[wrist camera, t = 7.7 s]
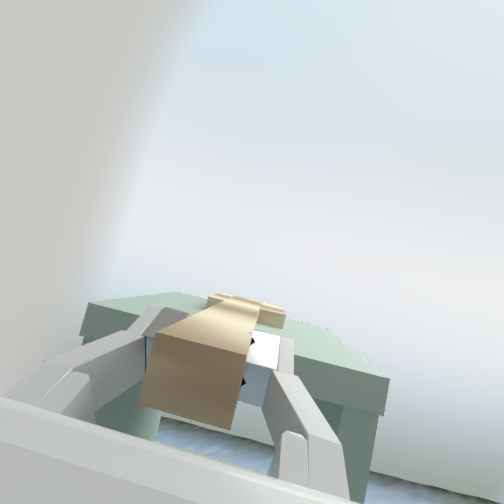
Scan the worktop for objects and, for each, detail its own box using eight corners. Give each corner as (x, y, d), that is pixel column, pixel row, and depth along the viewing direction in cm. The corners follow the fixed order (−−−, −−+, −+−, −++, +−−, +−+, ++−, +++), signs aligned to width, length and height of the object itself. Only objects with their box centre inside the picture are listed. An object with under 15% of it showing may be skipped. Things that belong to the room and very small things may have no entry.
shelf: (277, 578, 26) (326, 328, 29) (290, 967, 11) (389, 378, 14) (116, 525, 28) (176, 291, 30) (-58, 807, 13) (88, 302, 15)
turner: (219, 302, 29) (223, 287, 30) (279, 317, 29) (282, 301, 29) (53, 380, 7) (74, 310, 7) (324, 457, 6) (339, 379, 6)
